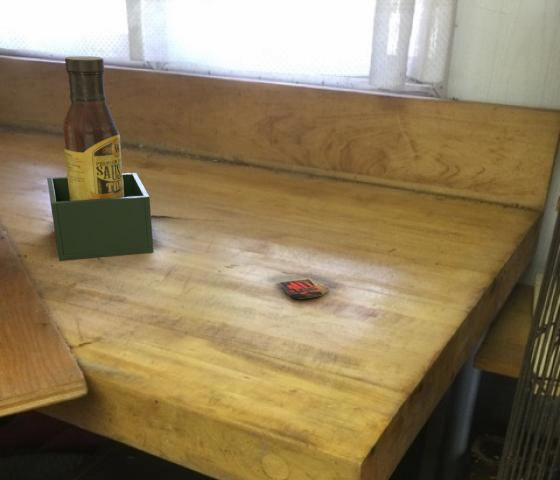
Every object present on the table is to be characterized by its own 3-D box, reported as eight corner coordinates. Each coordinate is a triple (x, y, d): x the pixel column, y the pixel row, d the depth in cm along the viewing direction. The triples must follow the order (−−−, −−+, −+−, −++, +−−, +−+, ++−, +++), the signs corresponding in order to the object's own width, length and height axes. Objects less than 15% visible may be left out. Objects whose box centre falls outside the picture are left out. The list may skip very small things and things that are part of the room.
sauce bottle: (111, 248, 81) (92, 62, 71) (64, 241, 82) (38, 58, 72) (137, 230, 86) (123, 56, 76) (92, 225, 88) (72, 52, 78)
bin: (59, 260, 79) (50, 203, 76) (54, 230, 88) (47, 177, 84) (153, 252, 82) (149, 196, 79) (140, 223, 91) (136, 172, 87)
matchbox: (299, 303, 70) (299, 299, 70) (270, 286, 74) (270, 282, 73) (335, 293, 73) (335, 289, 72) (305, 277, 76) (305, 273, 76)
